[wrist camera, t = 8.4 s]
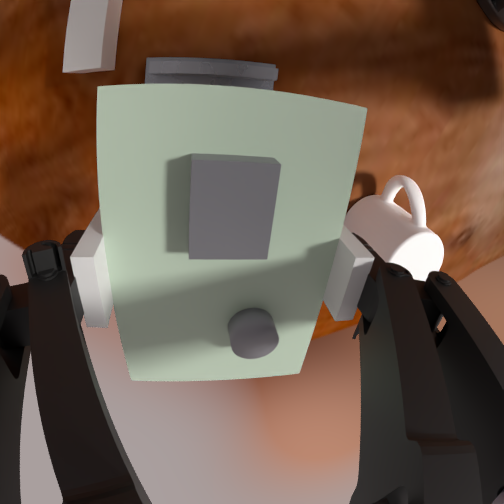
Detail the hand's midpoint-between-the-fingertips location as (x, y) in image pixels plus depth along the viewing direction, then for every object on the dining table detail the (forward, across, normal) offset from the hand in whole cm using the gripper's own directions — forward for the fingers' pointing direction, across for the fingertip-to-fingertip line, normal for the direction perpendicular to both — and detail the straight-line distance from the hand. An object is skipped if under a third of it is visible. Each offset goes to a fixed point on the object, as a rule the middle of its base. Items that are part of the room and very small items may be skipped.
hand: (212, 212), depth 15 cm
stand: (+17, -11, +13) cm, 24 cm away
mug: (+17, +21, -6) cm, 28 cm away
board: (-3, 0, 0) cm, 3 cm away
